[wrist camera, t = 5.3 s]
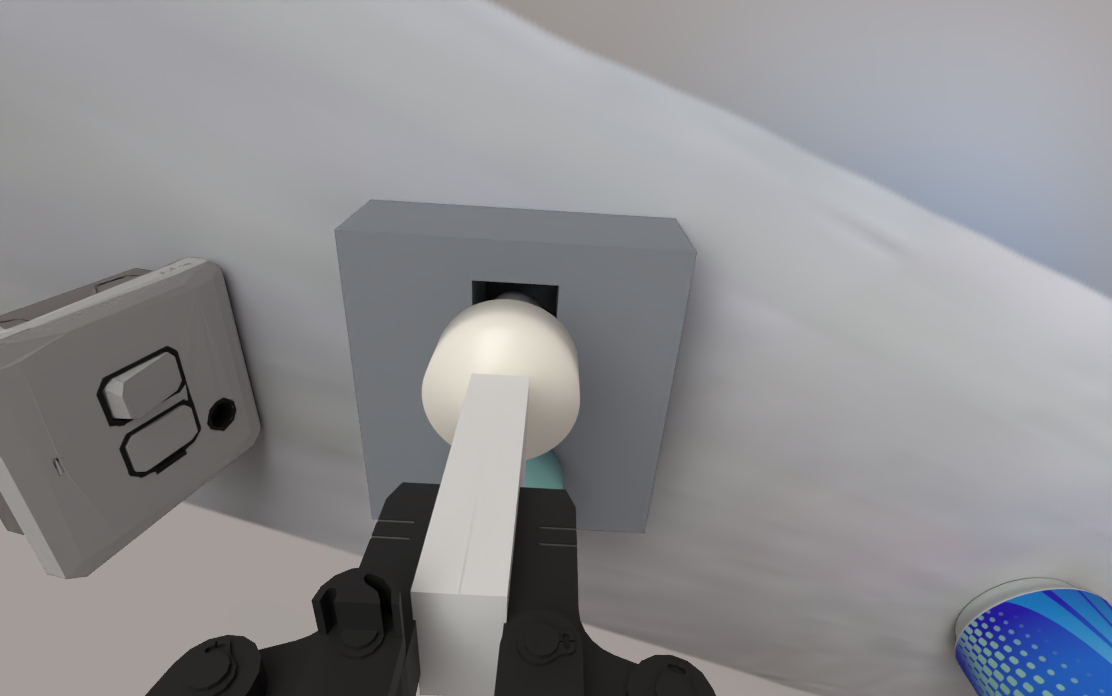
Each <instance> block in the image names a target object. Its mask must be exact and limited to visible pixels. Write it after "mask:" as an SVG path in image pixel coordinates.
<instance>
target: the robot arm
mask: <svg viewBox="0 0 1112 696" xmlns="http://www.w3.org/2000/svg"><path fill="white" fill-rule="evenodd" d="M529 383H530V377H525V376H508V375H490V374H473V373H472V374H471V378H470V381H469V385H468V388H467V392H466V395H465V399H464V403H463V406H462V410H461V413H460V417H459V420H458V424H457V428H456V431H455V435H454V438H453V442H452V445H451V449H450V453H449V456H448V460H447V463H446V467H445V470H444V474H443V478H442V481H441V484H428V483H409V482H402V483H401V484H400V485H399V486H398V487H397V488H396V489H395V490H394V491H393V492H392V493H391V494H390V495H389V496H388V497H387V498H386V500H385V503H384V505H383V508H382V510H381V513H380V516H379V518H378V522H377V523H376V526H375V528H374V531H373V533H372V539H370V541H369V544H368V546H367V549H366V551H365V554H364V556H363V559H362V562H361V564H360V567H359V568H353V569H350V570H347V571H345V572H342V573H340V574H338V575H335V576H334V577H333V578H331V579H330V580H329V581H327V582H326V583H325V584H324V585H322V586H321V587H320V589H319V590H318V592H317V593H316V595H315V596H314V598H313V599H312V604H313V609H314V614H315V618H316V622H317V627H318V631H317V632H315V633H313V634H312V635H310V636H307V637H305V638H302V639H299V640H296V641H292V642H288V643H285V644H281V645H276V646H273V647H269V648H264V649H261V650H258V649H257V646H256V644H255V643H254V642H252V641H250V640H249V639H247V638H245V637H244V636H234V635H226V636H221V637H217V638H213V639H209V640H207V641H205V642H203V643H201V644H199V645H198V646H196V647H194V648H192V649H190V650H189V651H188V652H186V653H185V654H184V655H183V656H182V657H181V658H180V659H179V660H177V661H176V662H175V663H174V664H173V665H172V666H171V667H170V668H169V669H168V671H167V672H166V673H165V674H164V675H163V676H162V677H161V678H160V680H159V681H158V682H157V683H156V684H155V685H154V686H153V687H152V688H151V690H150V691H149V692H148V693H147V694H146V695H145V696H416V692H417V687H418V683H419V687H420V695H437V696H716V695H715V693H714V690H713V688H712V687H711V685H710V684H709V682H708V681H707V679H706V678H705V676H704V675H703V673H702V672H701V671H699V670H698V669H697V668H696V667H694V666H693V665H692V664H691V663H689V662H688V661H686V660H683V659H681V658H678V657H675V656H673V655H654V656H652V657H649V658H647V659H645V660H642V661H641V662H640V663H639V664H636V663H633V662H631V661H628V660H626V659H623V658H620V657H618V656H615V655H613V654H611V653H609V652H607V651H605V650H603V649H602V648H600V647H599V646H598V645H597V644H596V643H594V642H593V641H592V640H591V638H590V637H589V636H588V634H587V633H586V632H585V630H584V628H583V626H582V623H581V621H580V616H579V610H578V572H577V532H576V507H575V505H574V503H573V501H572V500H571V498H570V496H569V494H568V492H567V491H566V489H547V488H529V487H524V478H525V467H526V452H527V429H528V406H529Z"/></svg>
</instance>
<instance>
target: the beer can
mask: <svg viewBox="0 0 1112 696" xmlns="http://www.w3.org/2000/svg"><path fill="white" fill-rule="evenodd" d="M955 633H956V637H957V640H956V643H955V657H956V660H957V662H958V664H959V665H960V667H961V669H962V670H963V672H964V673H965V675H966V676H967V678H968V680H969V681H970V683H971V684H972V686H973V687H974V689H975V691H976V692H977V694H978V695H979V696H1112V606H1111V605H1110V604H1109V603H1108V602H1107V601H1106V600H1104V599H1103V598H1102V597H1100V596H1098V595H1096V594H1094V593H1092V592H1089V591H1086V590H1083V589H1078V588H1074V587H1073V586H1071V585H1069V584H1067V583H1065V582H1062V581H1059V580H1055V579H1050V578H1028V579H1021V580H1016V581H1012V582H1008V583H1005V584H1002V585H999V586H997V587H994V588H992V589H990V590H988V591H986V592H984V593H983V594H981V595H979V596H978V597H977V598H975V599H974V600H973V601H971V602H970V603H969V604H968V605H967V606H966V607H965V608H964V609H963V610H962V612H961V613H960V615H959V617H958V619H957V621H956V626H955Z"/></svg>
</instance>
